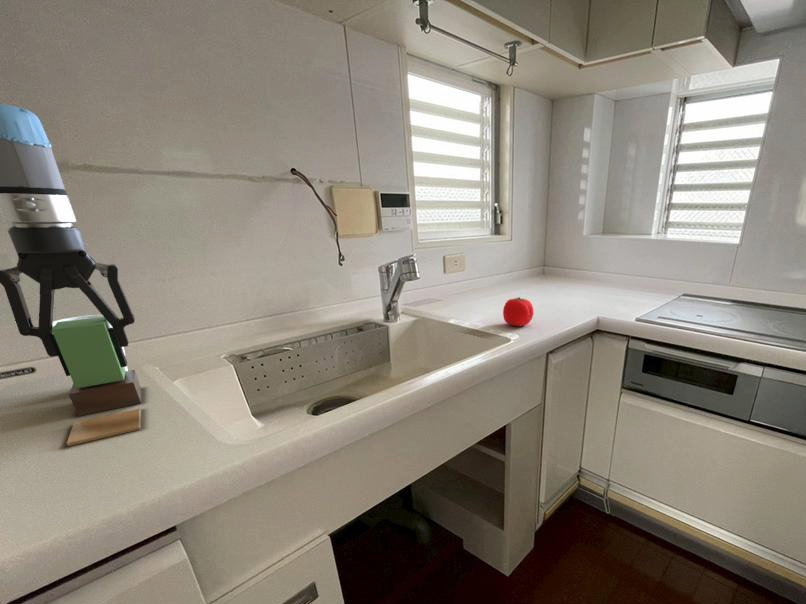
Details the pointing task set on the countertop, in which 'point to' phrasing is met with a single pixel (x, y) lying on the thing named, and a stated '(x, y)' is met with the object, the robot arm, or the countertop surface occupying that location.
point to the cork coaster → (104, 427)
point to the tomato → (518, 312)
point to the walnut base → (106, 395)
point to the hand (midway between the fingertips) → (98, 368)
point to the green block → (88, 351)
